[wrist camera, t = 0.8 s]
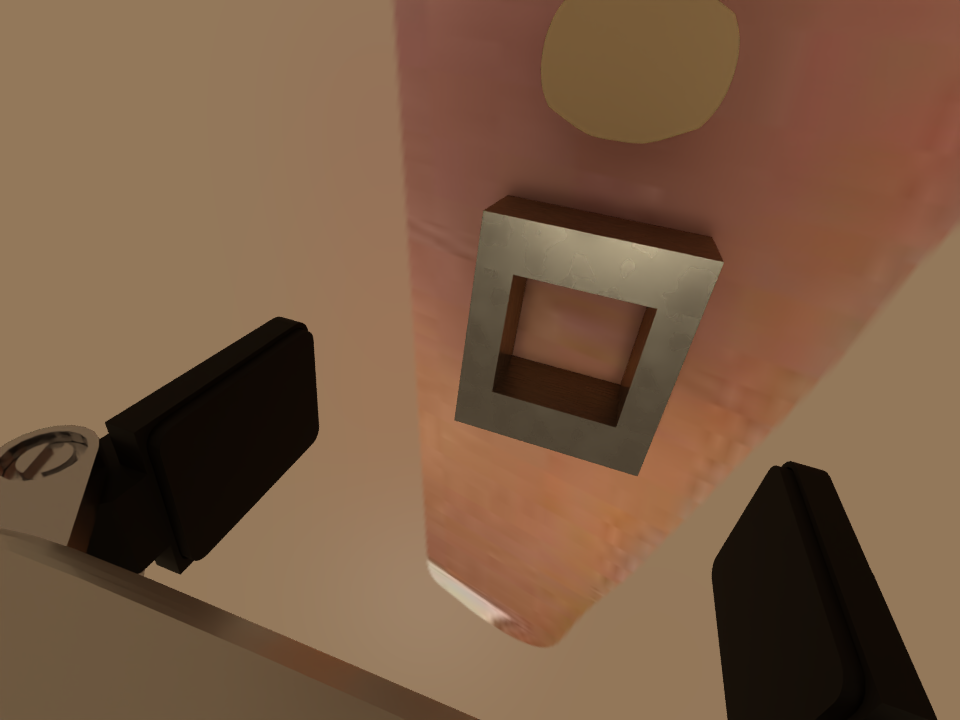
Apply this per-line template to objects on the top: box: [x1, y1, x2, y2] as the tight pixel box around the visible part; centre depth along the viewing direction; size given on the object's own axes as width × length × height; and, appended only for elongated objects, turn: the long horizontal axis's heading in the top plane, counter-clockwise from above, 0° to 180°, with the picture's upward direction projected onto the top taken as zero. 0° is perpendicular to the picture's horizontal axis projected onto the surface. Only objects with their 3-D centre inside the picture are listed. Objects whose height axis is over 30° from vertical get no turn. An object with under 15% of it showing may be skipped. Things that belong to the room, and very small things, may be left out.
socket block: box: [455, 195, 724, 476], centre depth 35 cm, size 16×14×6 cm
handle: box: [541, 0, 740, 144], centre depth 23 cm, size 5×6×15 cm
